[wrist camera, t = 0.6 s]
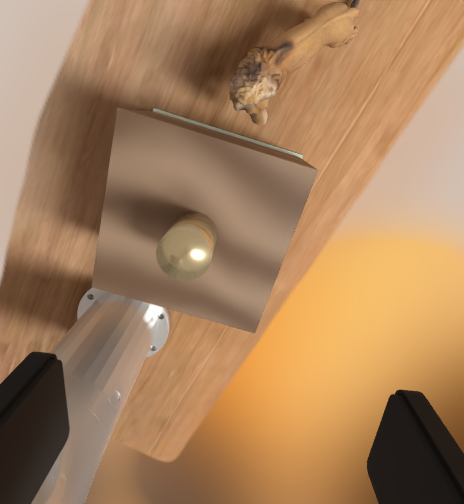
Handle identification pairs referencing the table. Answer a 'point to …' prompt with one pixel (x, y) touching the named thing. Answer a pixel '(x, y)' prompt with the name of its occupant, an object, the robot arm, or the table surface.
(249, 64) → the lion figurine
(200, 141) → the walnut cover
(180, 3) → the table surface
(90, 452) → the robot arm
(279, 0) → the table surface
